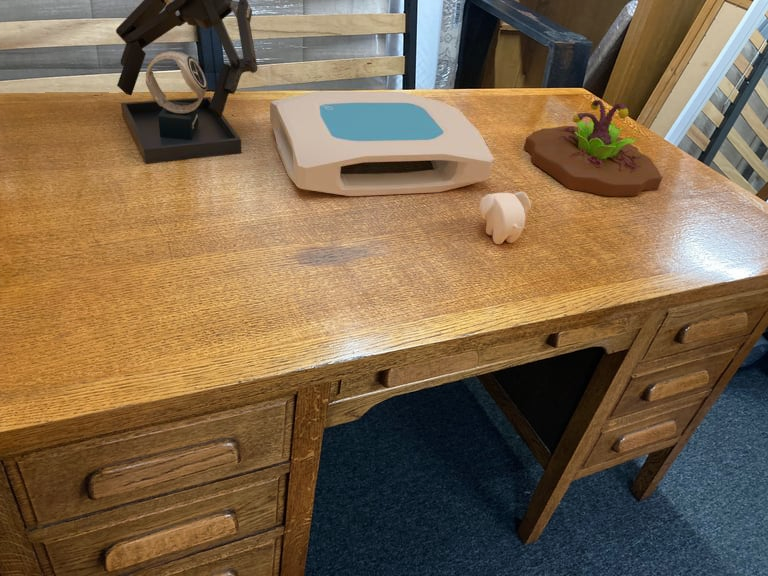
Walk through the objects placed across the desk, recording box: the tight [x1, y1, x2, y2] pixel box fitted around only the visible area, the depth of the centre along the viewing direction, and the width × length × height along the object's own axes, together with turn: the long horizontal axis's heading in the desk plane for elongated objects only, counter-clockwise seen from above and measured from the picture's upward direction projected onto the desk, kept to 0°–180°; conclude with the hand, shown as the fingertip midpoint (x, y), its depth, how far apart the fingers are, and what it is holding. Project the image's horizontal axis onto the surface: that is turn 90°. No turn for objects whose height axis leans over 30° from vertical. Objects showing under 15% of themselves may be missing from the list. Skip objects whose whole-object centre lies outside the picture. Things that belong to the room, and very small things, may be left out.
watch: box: [145, 50, 208, 140], centre depth 87 cm, size 6×8×11 cm
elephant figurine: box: [478, 190, 532, 245], centre depth 79 cm, size 7×8×6 cm
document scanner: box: [269, 90, 495, 197], centre depth 91 cm, size 21×28×6 cm
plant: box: [523, 99, 663, 197], centre depth 98 cm, size 20×20×11 cm
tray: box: [120, 96, 242, 164], centre depth 91 cm, size 15×13×2 cm
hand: (169, 101), depth 86 cm, fingers open, 13 cm apart
